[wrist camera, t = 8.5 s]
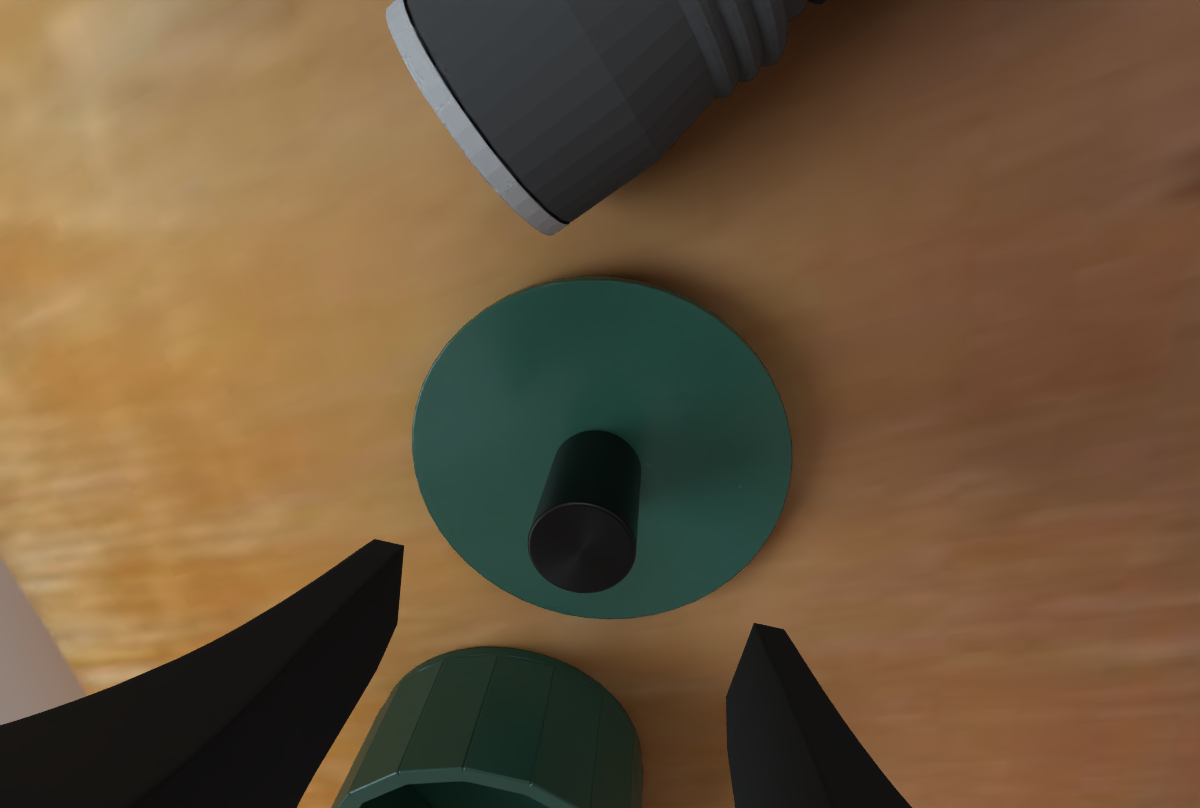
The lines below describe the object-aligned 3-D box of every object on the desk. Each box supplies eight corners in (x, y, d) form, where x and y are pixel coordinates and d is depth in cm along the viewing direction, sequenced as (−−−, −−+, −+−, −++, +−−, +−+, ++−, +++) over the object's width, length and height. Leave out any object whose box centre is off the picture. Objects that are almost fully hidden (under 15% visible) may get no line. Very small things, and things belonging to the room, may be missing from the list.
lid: (728, 627, 22) (746, 761, 17) (411, 558, 22) (342, 672, 17) (838, 318, 17) (905, 384, 13) (441, 233, 17) (359, 266, 13)
